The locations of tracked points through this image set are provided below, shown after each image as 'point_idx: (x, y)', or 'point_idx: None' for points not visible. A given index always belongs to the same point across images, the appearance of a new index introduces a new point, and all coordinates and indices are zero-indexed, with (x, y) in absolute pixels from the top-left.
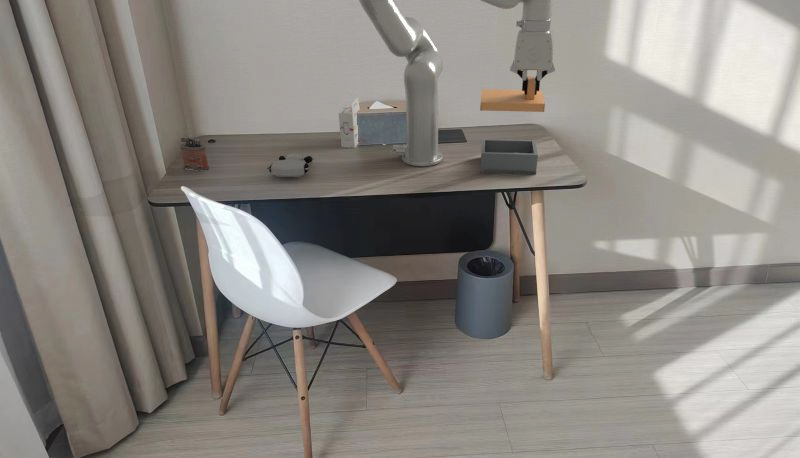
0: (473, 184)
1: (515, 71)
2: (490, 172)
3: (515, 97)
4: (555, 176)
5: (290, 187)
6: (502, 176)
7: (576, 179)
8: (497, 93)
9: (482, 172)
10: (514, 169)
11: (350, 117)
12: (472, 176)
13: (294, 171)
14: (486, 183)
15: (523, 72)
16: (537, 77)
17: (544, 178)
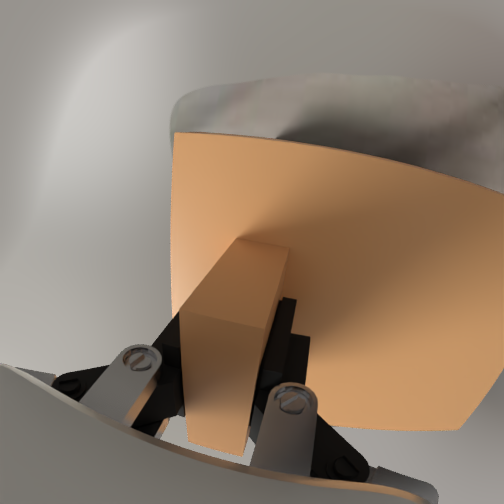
0: (447, 95)
1: (383, 481)
2: (398, 161)
3: (359, 303)
4: (224, 125)
5: None
6: (370, 132)
7: (177, 109)
8: (430, 381)
9: (418, 166)
10: None
11: None
12: (445, 145)
13: None
14: (416, 94)
15: (301, 458)
16: (150, 372)
17: (255, 111)
